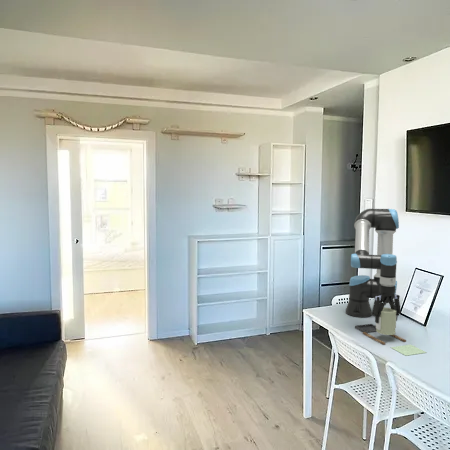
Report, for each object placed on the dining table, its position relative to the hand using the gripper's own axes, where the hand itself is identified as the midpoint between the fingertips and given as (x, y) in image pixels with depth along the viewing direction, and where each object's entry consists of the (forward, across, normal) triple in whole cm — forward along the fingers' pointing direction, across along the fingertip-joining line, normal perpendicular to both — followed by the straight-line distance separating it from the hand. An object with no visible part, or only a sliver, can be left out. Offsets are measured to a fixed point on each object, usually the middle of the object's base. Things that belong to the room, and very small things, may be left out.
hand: (385, 328), depth 203 cm
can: (+2, 0, 0) cm, 2 cm away
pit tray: (+6, 0, +14) cm, 15 cm away
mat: (+6, 0, -16) cm, 17 cm away
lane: (+6, 0, +1) cm, 6 cm away
